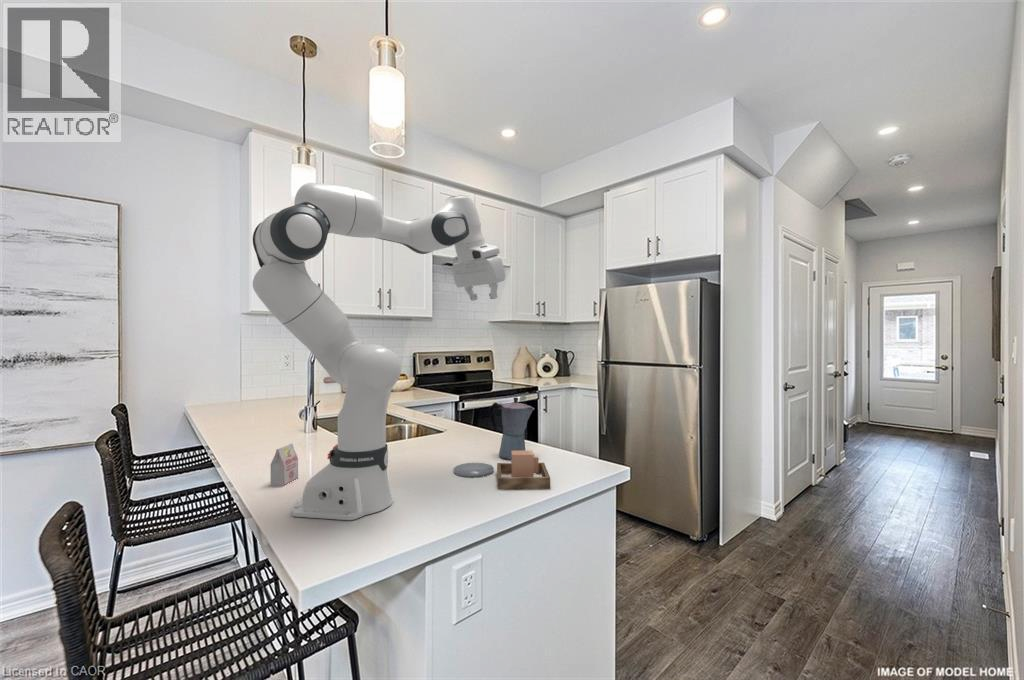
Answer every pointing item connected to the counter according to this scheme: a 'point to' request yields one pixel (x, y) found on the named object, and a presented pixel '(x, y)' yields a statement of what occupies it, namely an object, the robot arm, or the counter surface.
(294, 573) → the counter surface
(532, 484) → the frame
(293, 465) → the milk carton
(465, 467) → the slate coaster
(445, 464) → the counter surface
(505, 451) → the moka pot
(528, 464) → the terracotta clay block
